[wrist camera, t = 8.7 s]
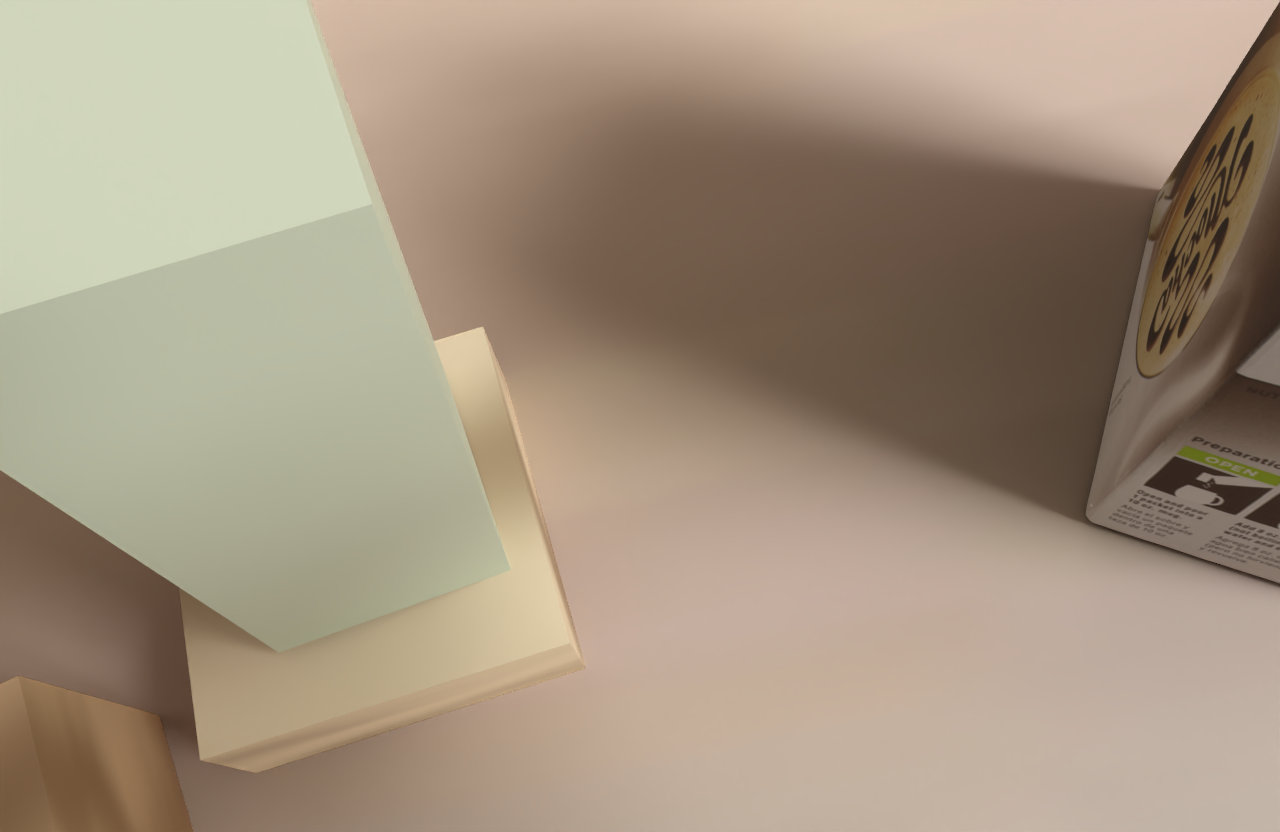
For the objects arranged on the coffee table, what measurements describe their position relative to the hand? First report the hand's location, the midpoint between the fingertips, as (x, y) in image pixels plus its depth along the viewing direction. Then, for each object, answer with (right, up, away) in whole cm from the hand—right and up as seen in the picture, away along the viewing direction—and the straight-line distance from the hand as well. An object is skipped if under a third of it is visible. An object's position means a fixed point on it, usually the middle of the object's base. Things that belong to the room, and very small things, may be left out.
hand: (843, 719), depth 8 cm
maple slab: (-7, -1, +15) cm, 17 cm away
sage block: (-7, +1, +13) cm, 14 cm away
